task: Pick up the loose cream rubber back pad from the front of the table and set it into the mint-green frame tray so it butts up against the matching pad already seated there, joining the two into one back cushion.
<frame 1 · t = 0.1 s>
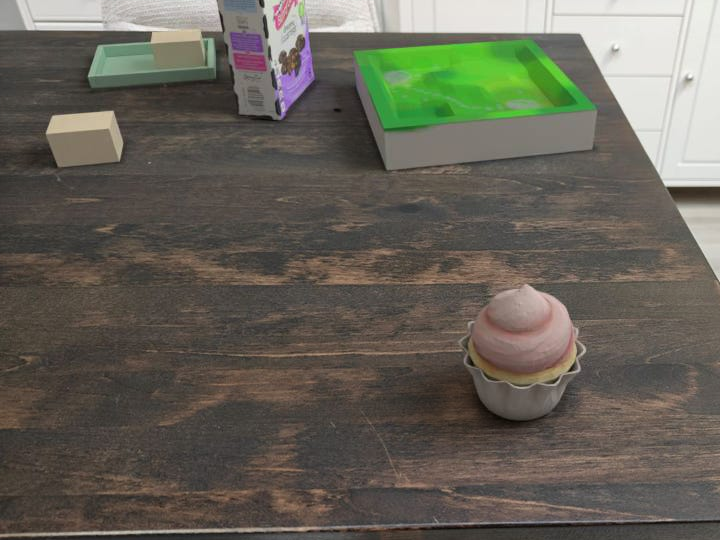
tray: (466, 118, 96), on the table
seated pad: (182, 64, 106), point 1 cm above the table, touching frame
candy box: (279, 100, 99), on the table
frame: (158, 71, 106), on the table
loose pad: (91, 155, 86), on the table
cupcake: (518, 394, 57), on the table
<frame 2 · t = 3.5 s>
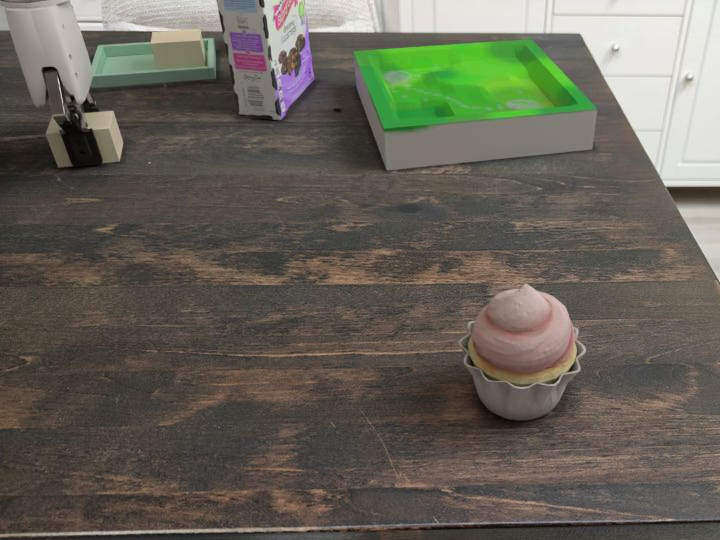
hand: (90, 151, 86), 0 cm above the table, tool pointing down, fingers closed on loose pad, 5 cm apart
loose pad: (91, 155, 86), on the table, touching gripper
everything else where it was.
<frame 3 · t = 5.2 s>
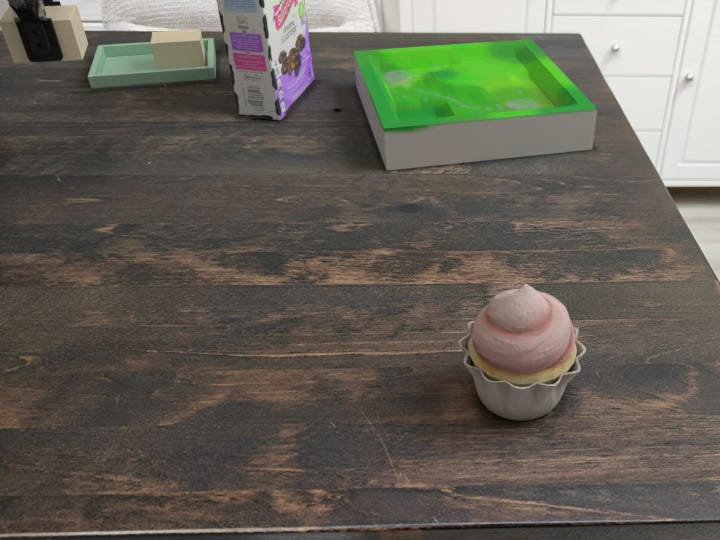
hand: (50, 49, 78), 12 cm above the table, tool pointing down, fingers closed on loose pad, 5 cm apart
loose pad: (52, 53, 78), point 11 cm above the table, touching gripper
everything else where it was.
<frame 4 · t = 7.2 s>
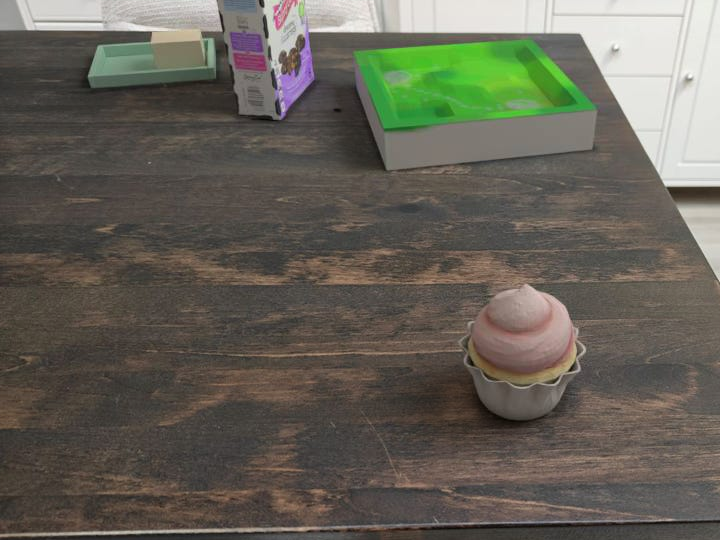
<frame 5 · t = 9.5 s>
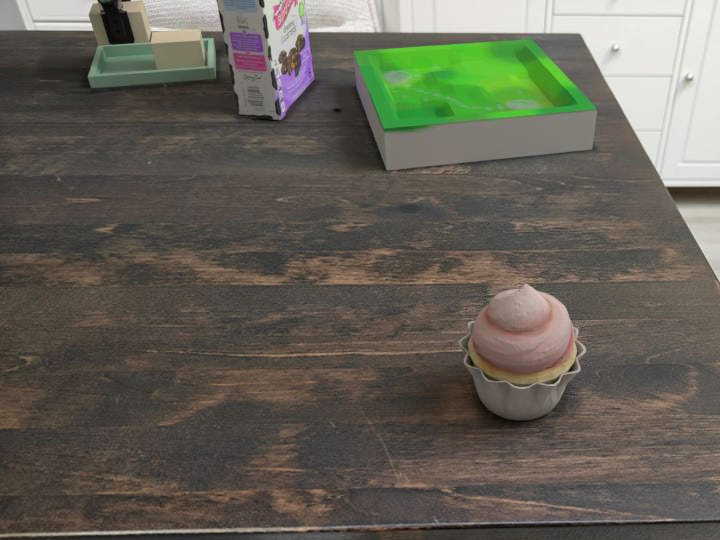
hand: (124, 35, 102), 5 cm above the table, tool pointing down, fingers closed on loose pad, 5 cm apart
loose pad: (125, 38, 102), point 5 cm above the table, touching gripper
everything else where it was.
when the fingers open (1 cm above the table, at t = 11.0 s): loose pad stays where it is, resting on frame.
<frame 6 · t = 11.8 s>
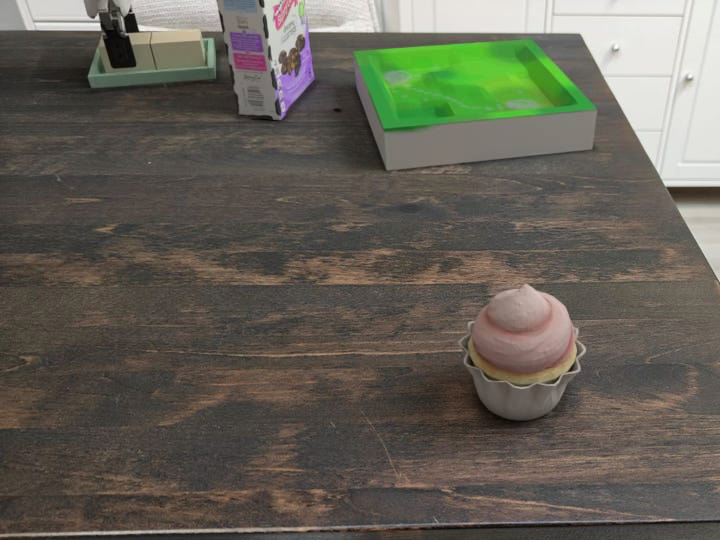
hand: (127, 55, 104), 2 cm above the table, tool pointing down, fingers open, 9 cm apart
loose pad: (133, 68, 105), point 1 cm above the table, touching frame
everything else where it was.
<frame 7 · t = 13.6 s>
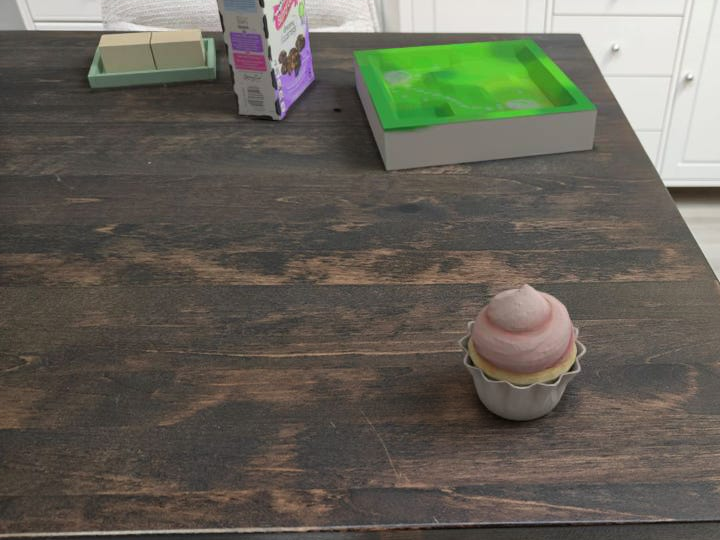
nothing on the table moved.
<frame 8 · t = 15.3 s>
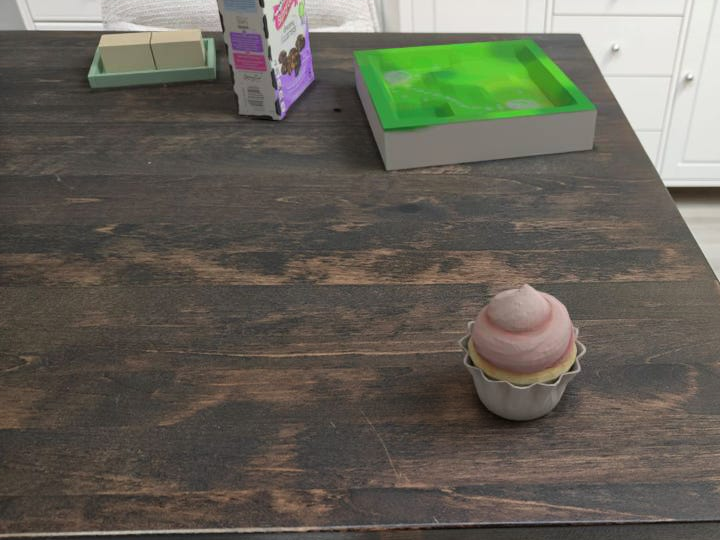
nothing on the table moved.
at the end: loose pad 0.8 cm from the target spot in the frame, point 0.6 cm above the frame's base; loose pad 6.7 cm from the seated pad (horizontally); loose pad tilted 0° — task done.
